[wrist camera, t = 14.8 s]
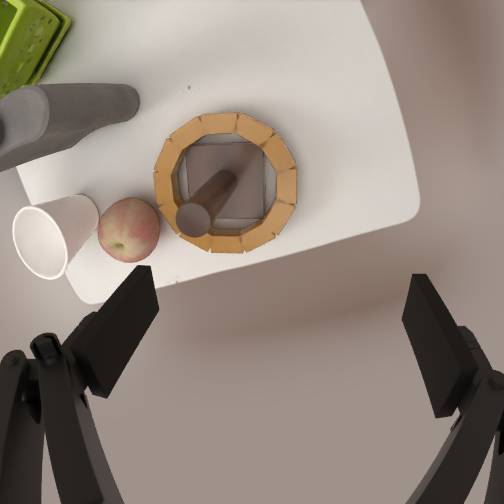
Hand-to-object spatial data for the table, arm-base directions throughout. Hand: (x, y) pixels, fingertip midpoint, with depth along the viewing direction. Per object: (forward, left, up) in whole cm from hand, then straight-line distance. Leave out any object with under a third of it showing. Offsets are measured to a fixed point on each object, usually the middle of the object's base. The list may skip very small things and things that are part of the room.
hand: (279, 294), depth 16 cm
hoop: (+7, 0, -23) cm, 24 cm away
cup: (+29, +4, -25) cm, 39 cm away
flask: (+25, -10, -25) cm, 37 cm away
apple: (+19, +5, -25) cm, 32 cm away
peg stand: (+7, 0, -25) cm, 26 cm away
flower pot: (+35, -24, -25) cm, 49 cm away
